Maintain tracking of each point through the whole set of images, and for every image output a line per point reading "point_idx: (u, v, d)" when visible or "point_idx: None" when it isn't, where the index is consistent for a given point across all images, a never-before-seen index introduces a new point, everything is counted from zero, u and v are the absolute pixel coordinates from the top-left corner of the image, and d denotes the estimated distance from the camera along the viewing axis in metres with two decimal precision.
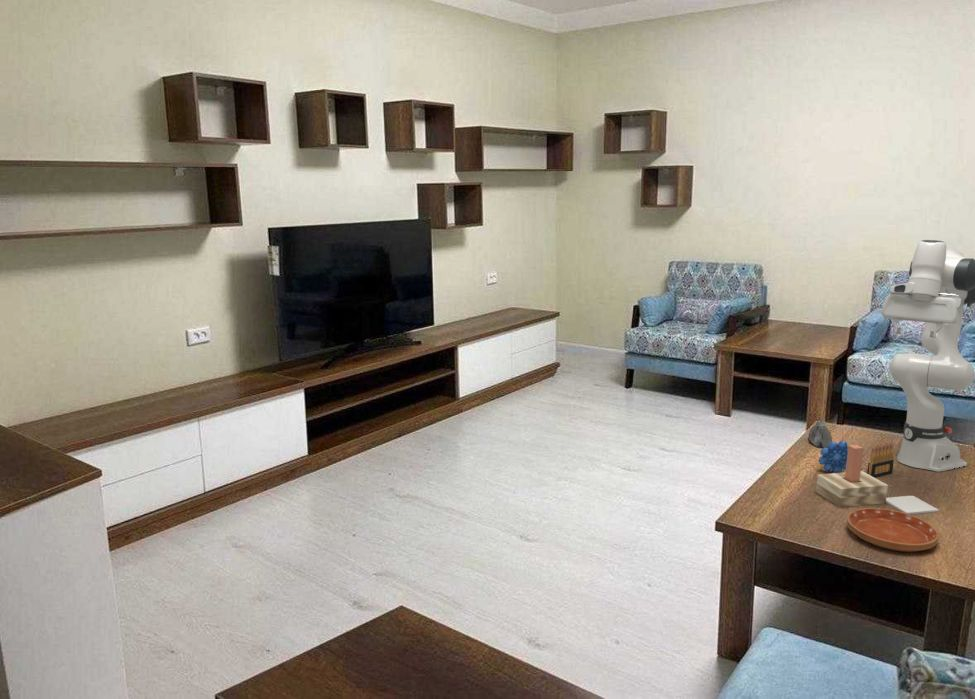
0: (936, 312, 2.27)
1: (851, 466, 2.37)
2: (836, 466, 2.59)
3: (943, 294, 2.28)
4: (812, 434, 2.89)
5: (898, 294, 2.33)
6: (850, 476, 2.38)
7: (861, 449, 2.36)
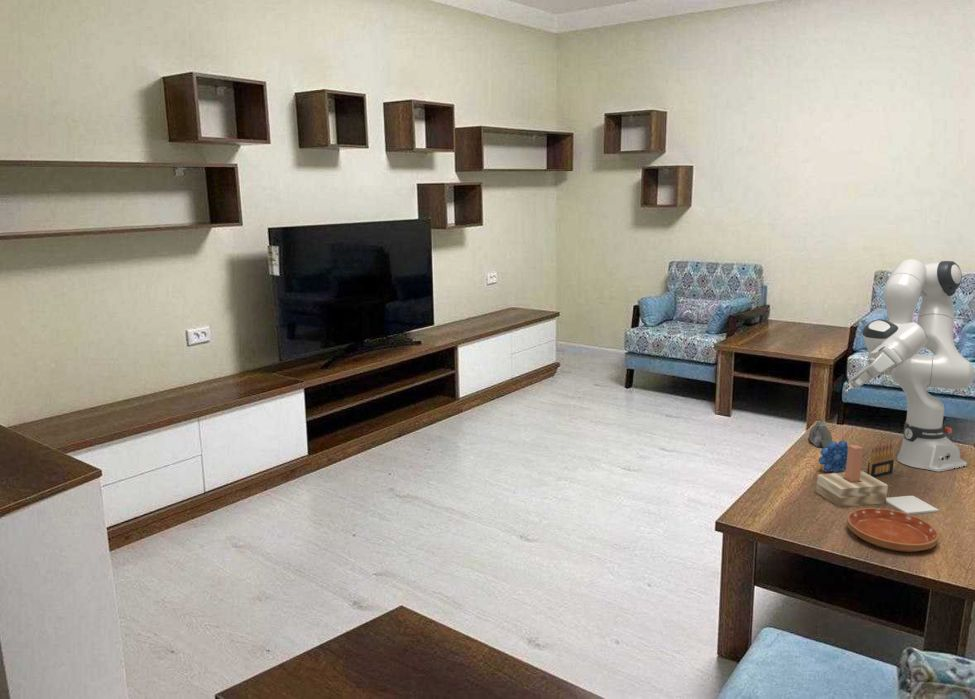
0: None
1: (851, 466, 2.37)
2: (836, 466, 2.59)
3: None
4: (812, 434, 2.89)
5: (892, 366, 2.34)
6: (850, 476, 2.38)
7: (861, 449, 2.36)
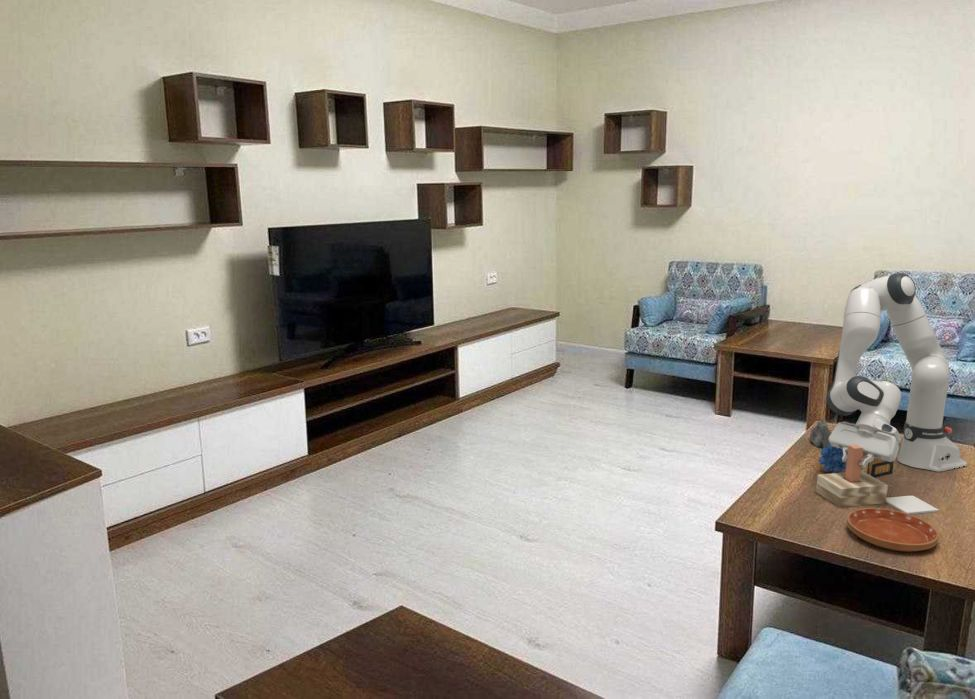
0: None
1: (851, 466, 2.37)
2: (836, 466, 2.59)
3: None
4: (813, 434, 2.89)
5: None
6: (850, 476, 2.38)
7: (861, 449, 2.36)
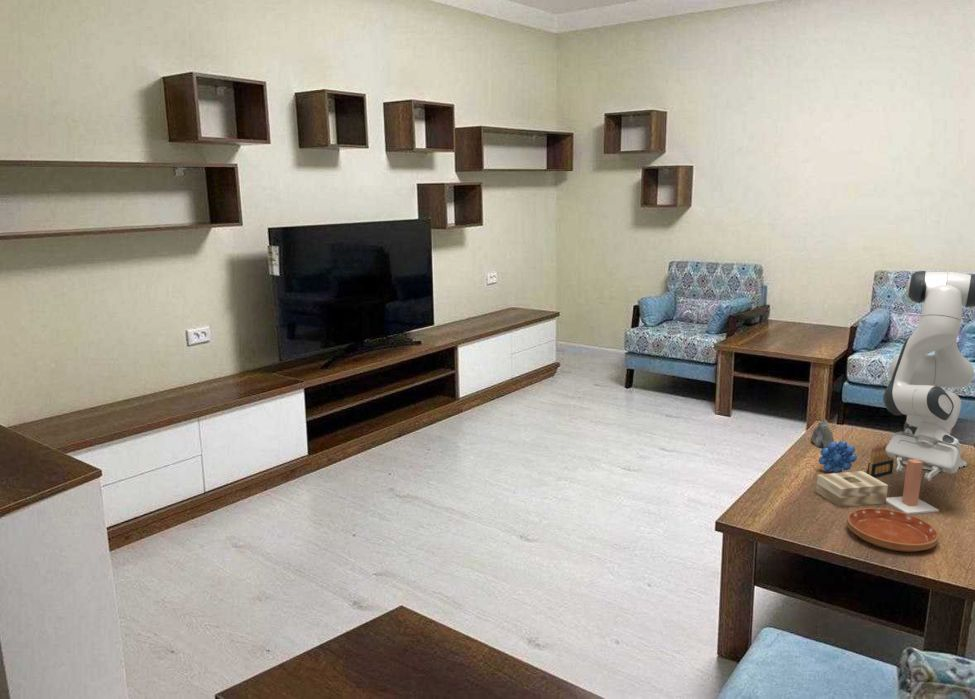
0: None
1: (910, 481, 2.31)
2: (836, 466, 2.59)
3: None
4: (814, 434, 2.89)
5: None
6: (909, 491, 2.32)
7: (921, 464, 2.30)
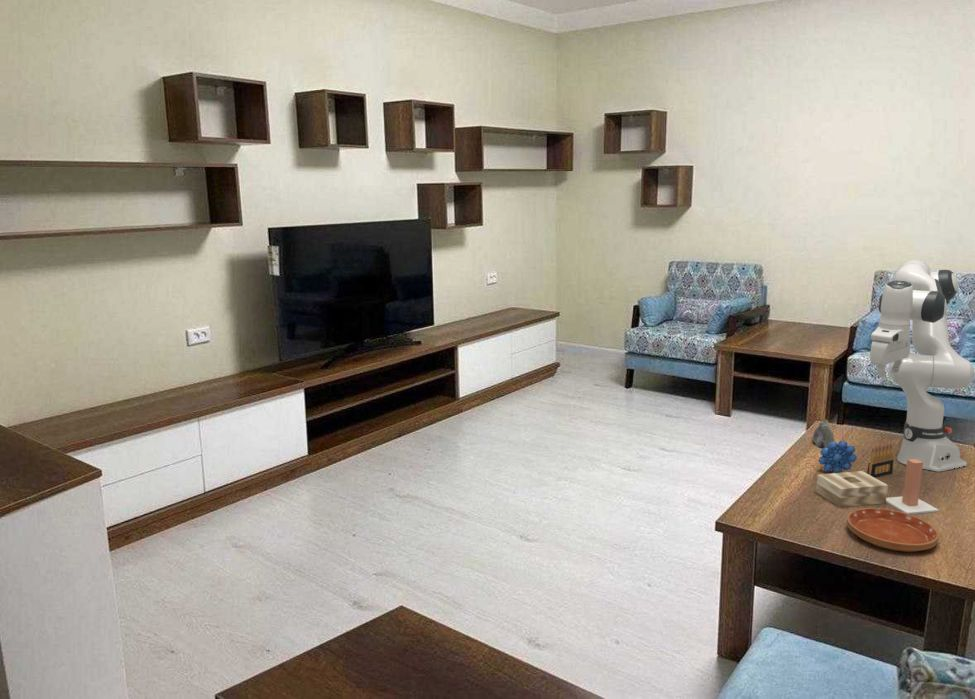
0: (903, 351, 2.44)
1: (910, 481, 2.31)
2: (836, 466, 2.59)
3: None
4: (815, 434, 2.89)
5: (892, 343, 2.36)
6: (909, 491, 2.32)
7: (921, 464, 2.30)
